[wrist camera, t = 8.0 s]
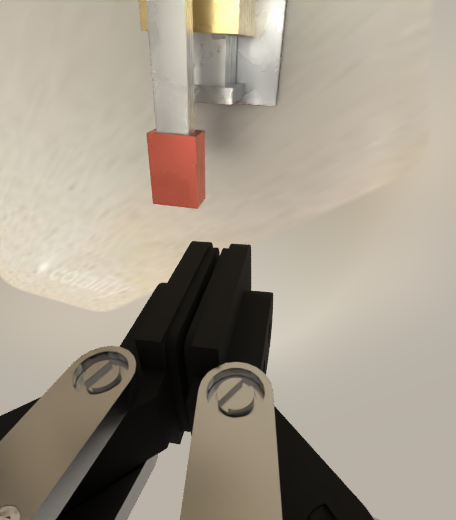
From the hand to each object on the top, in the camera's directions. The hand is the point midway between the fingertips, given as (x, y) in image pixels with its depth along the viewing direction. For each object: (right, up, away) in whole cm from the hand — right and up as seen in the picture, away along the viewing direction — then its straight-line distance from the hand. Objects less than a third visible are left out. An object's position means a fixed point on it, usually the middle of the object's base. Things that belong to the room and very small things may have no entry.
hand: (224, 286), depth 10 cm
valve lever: (-3, +11, +10) cm, 15 cm away
